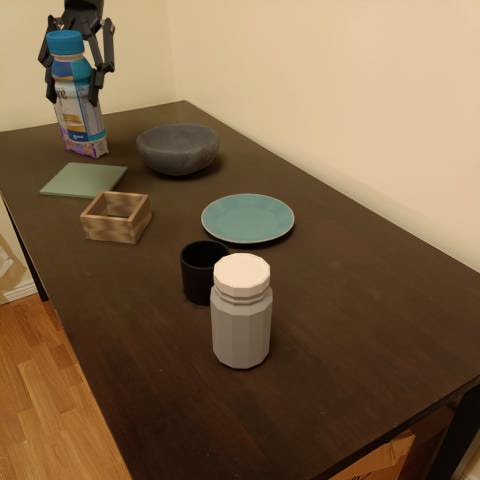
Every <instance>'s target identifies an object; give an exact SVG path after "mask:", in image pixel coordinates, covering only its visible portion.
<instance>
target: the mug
mask: <svg viewBox="0 0 480 480" xmlns="http://www.w3.org/2000/svg"><path fill="white" fill-rule="evenodd" d="M228 255H231V251H230V249H229V247H228V246H227V245H226V244H225V243H222V242H220V241H217V240H214V239H197V240H194V241H191V242H189V243H188V244H187V243H186V245H184V246H183V248H182V249H181V250H180V252H179V262H180V270H181V279H182V289H183V294H184V296H185V297H186V298H187V299H188V301H190V302H192V303H194V304H196V305H200V306H211V302H210V297H211V289H212V287H213V286H214V285H215V283H214V266H215V264H216V263H217V262H218V261H219V260H220V259H221V258H223V257H225V256H228Z"/></svg>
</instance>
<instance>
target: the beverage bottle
mask: <svg viewBox="0 0 480 480" xmlns="http://www.w3.org/2000/svg"><path fill="white" fill-rule="evenodd" d="M46 40H47V44H48V48H49V51H50V53H51V55H53V56H55V57H54V60H53V63H52V77H53V78H54V79H55V91H56V93H57V95H58V99H59V102H60V106H61V110H62V113H63V117H64V120H65V124H66V128H67V131H68V136H69V139H70V140H71V141H72V142H74V143H76V144H94V143H97V142H100V141H102V140H103V139H105V137H106V138H107V130H106V127H105V123H104V118H103V113H102V107H101V103H100V99H99V96H98V102H97V107H93V106H92V105H91V103H90V102H89V101H88V100H87V99H88V91H89V83H90V76H91V68H93V67H92V65H91V63H90V61H89V60H88V59H87V58H86V56H84V54H85V53H86V47H85V43H84V40H83V37H82V35H81V33H80V32H78V31H73V30H60V31H53V32H50V33H48V34H46Z"/></svg>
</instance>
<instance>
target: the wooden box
mask: <svg viewBox="0 0 480 480" xmlns="http://www.w3.org/2000/svg"><path fill="white" fill-rule="evenodd" d="M151 208H152V207H151V202H150V196H149V194H143V193H133V192H120V191H112V190H111V191H100V193H99V194H98V195H97V196H96V197H95V199H92V201H91V202H90V203H89V204H88V206H87V207H86V208H85V209H84V211H82V213H81V214H80V216H79V218H80V222H81V225H82V228H83V229H82V230H83V232H84V235H85V239H86V240H94V241H101V242H102V241H103V242H110V243H111V242H113V243H120V244H121V243H122V244H123V243H124V244H132V245H136V244H137V243H138V241H139V240H140V238H141V236H142V234H143V233H144V232H145V229H146V228H147V227H148V225H149V224H150V221H151V219H152V218H153V214H152V209H151Z"/></svg>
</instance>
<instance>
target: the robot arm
mask: <svg viewBox="0 0 480 480" xmlns="http://www.w3.org/2000/svg"><path fill="white" fill-rule="evenodd" d="M63 6H64V8H63V9H64V10H63V12H62V14H61V16H58V17H54V15H53V14H49V15H48V16H47V27H46V30H45V33H44V37H43V40H42V42H41V46H40V49H39V53H38V56H37V61H38V63H39V64H41V66H43V68H44V69H45V71H44V72H45V74H44V83H45V84H46V90H45V98H46V99H47V100H48V101H49V102H50V103H51V104H52V105H53V104H56V102H57V93H56V91H55V79H54V78H53V77H52V63H53V60H54V57H55V56H53V55H51V53H50V51H49V48H48V44H47V40H46V34H48V33H50V32H53V31H60V30H73V31H78V32H80V33H81V35H82V37H83V42H84V41H85V42H87V43H88V46H89V49H90V52H91V56H92V59H93V62H94V64H93V66H94V67H92V68H91V76H90V83H89V91H88V99H87V100H88V101H89V102H90V103H91V105H92V106H93V107H97V102H98V97H99V95H100V90H103V88H104V84H105V78H106V77H105V76H106V74H108V73H113V74H114V73H115V71H116V66H115V65H116V62H115V45H114V36H115V33H116V26H115V24H114V22H113V21H112V19H111V18H110V17H109V16H108V17H106V18H104V19H103V16H104V15H103V14H104V7H105V0H63ZM100 30H102V44H103V45H102V46H103V55H102V53H101V50H100V46H99V41H98V38H97V37H98V36H97V34H98V32H99V31H100Z"/></svg>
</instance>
